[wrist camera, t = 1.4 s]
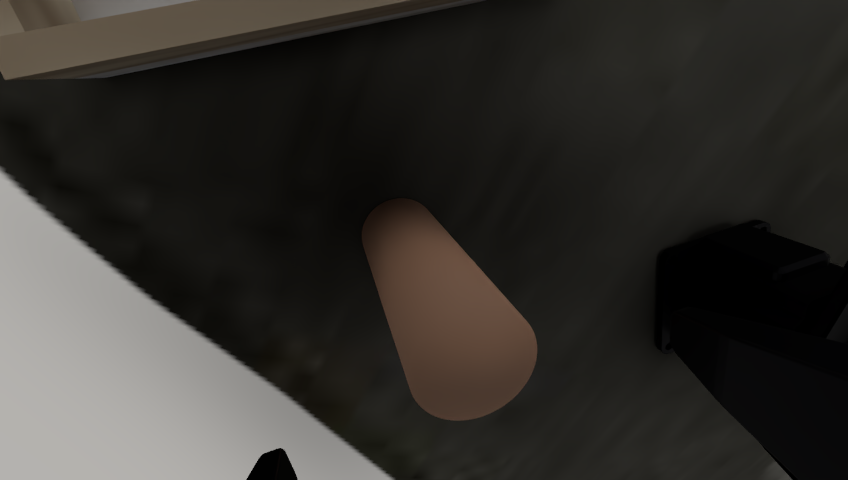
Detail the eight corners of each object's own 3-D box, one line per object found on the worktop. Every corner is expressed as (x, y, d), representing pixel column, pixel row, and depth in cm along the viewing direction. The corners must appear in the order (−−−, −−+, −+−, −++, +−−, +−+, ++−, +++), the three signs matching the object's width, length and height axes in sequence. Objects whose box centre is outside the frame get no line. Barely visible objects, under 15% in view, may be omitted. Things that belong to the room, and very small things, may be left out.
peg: (441, 257, 19) (542, 394, 11) (371, 278, 18) (423, 437, 10) (427, 189, 18) (530, 288, 10) (352, 209, 17) (394, 332, 9)
